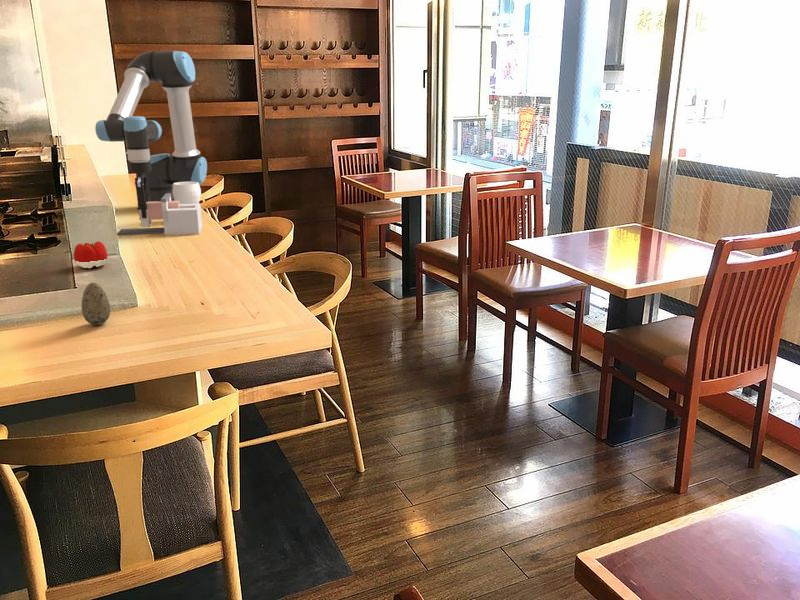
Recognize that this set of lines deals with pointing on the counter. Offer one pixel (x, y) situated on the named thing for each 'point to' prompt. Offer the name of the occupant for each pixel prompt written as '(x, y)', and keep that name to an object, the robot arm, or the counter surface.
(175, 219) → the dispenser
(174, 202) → the pink rectangular block
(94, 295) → the decorative egg
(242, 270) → the counter surface
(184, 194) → the cup
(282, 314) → the counter surface
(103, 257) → the tomato
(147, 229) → the pad
